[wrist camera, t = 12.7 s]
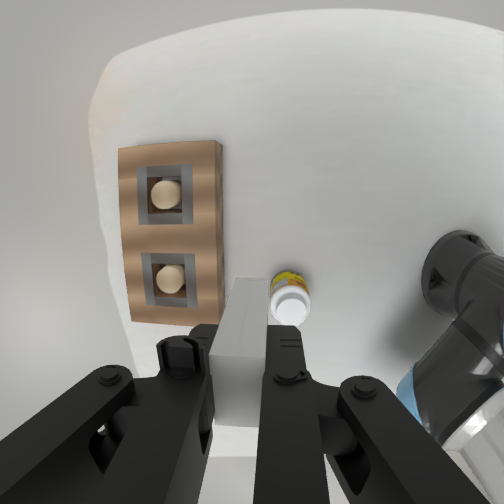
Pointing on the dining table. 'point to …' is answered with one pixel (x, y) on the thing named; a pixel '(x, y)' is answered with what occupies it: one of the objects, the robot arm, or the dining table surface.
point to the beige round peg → (167, 194)
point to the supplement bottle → (289, 298)
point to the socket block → (173, 232)
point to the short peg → (171, 278)
